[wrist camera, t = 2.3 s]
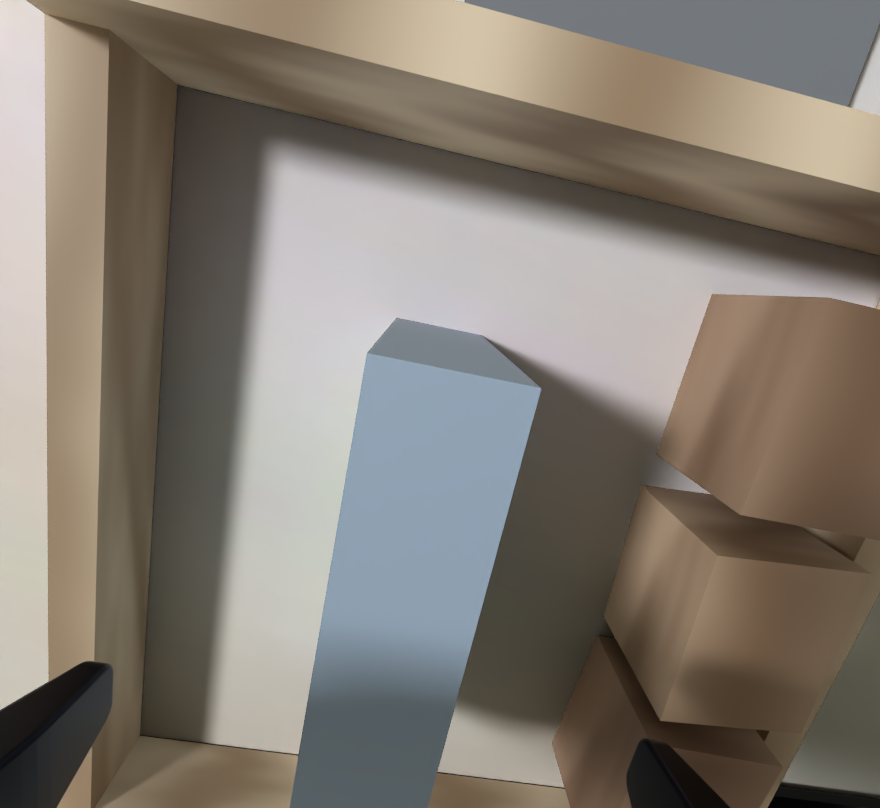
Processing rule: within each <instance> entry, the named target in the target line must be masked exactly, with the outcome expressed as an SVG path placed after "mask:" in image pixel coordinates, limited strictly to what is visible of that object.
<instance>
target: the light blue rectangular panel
mask: <svg viewBox="0 0 880 808" xmlns="http://www.w3.org/2000/svg"><path fill="white" fill-rule="evenodd" d="M540 392H541V387H540V386H538V385H537V384H536V383H535V382H534V381H533V380H532V379H530V378H529V377H528V376H527V375H526V374H525V373H524V372H523V371H521V370H520V369H519V368H518V367H517V366H516V365H515V364H513V363H512V362H511V361H510V360H509V359H508V358H507V357H506V356H504V355H503V354H502V353H501V352H500V351H499V350H498V349H496V348H495V347H494V346H493V345H492V344H491V343H490V342H489V341H487V340H486V339H485V338H484V337H483V336H482V335H477V334H472V333H467V332H462V331H458V330H453V329H448V328H443V327H439V326H434V325H429V324H424V323H420V322H415V321H410V320H405V319H400V318H396V319H395V320H394V322H393V323H392V324H391V325H390V326H389V328H388V329H387V330H386V331H385V332H384V334H383V335H382V336H381V337H380V338H379V339H378V341H377V342H376V343H375V344H374V345H373V347H372V348H371V349H370V350H369V351H368V353H367V356H366V362H365V368H364V374H363V380H362V386H361V392H360V398H359V403H358V409H357V415H356V421H355V427H354V433H353V439H352V444H351V450H350V456H349V462H348V468H347V474H346V480H345V485H344V491H343V497H342V503H341V509H340V515H339V521H338V527H337V532H336V538H335V544H334V550H333V556H332V562H331V568H330V573H329V579H328V585H327V591H326V597H325V603H324V609H323V614H322V620H321V626H320V632H319V638H318V644H317V650H316V656H315V661H314V667H313V673H312V679H311V685H310V691H309V697H308V702H307V708H306V714H305V720H304V726H303V732H302V738H301V743H300V749H299V755H298V761H297V767H296V773H295V779H294V785H293V790H292V796H291V802H290V808H427V807H428V804H429V800H430V796H431V793H432V789H433V785H434V782H435V778H436V774H437V771H438V767H439V763H440V760H441V756H442V752H443V749H444V745H445V741H446V738H447V734H448V730H449V727H450V723H451V719H452V716H453V712H454V708H455V704H456V701H457V697H458V693H459V690H460V686H461V682H462V679H463V675H464V671H465V668H466V664H467V660H468V657H469V653H470V649H471V646H472V642H473V638H474V635H475V631H476V627H477V624H478V620H479V616H480V613H481V609H482V605H483V602H484V598H485V594H486V591H487V587H488V583H489V580H490V576H491V572H492V568H493V565H494V561H495V557H496V554H497V550H498V546H499V543H500V539H501V535H502V532H503V528H504V524H505V521H506V517H507V513H508V510H509V506H510V502H511V499H512V495H513V491H514V488H515V484H516V480H517V477H518V473H519V469H520V466H521V462H522V458H523V455H524V451H525V447H526V444H527V440H528V436H529V433H530V429H531V425H532V421H533V418H534V414H535V410H536V407H537V403H538V399H539V396H540Z"/></svg>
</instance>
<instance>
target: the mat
mask: <svg viewBox="0 0 880 808" xmlns="http://www.w3.org/2000/svg"><path fill="white" fill-rule="evenodd" d="M465 3H468V4H472V5H475V6H479V7H483V8H486V9H490V10H494V11H497V12H501V13H505V14H508V15H512V16H516V17H519V18H523V19H527V20H530V21H534V22H538V23H541V24H545V25H549V26H552V27H556V28H560V29H563V30H567V31H571V32H574V33H578V34H582V35H585V36H589V37H593V38H596V39H600V40H604V41H608V42H611V43H615V44H619V45H622V46H626V47H630V48H633V49H637V50H641V51H644V52H648V53H652V54H655V55H659V56H663V57H666V58H670V59H674V60H677V61H681V62H685V63H688V64H692V65H696V66H699V67H703V68H707V69H710V70H714V71H718V72H721V73H725V74H729V75H732V76H736V77H740V78H743V79H747V80H751V81H754V82H758V83H762V84H765V85H769V86H773V87H776V88H780V89H784V90H787V91H791V92H795V93H798V94H802V95H806V96H809V97H813V98H817V99H820V100H824V101H828V102H831V103H835V104H839V105H842V106H846V107H848V105H849V102H850V100H851V97H852V94H853V92H854V89H855V87H856V84H857V81H858V79H859V76H860V73H861V71H862V68H863V66H864V63H865V60H866V58H867V55H868V53H869V50H870V47H871V45H872V42H873V40H874V37H875V34H876V32H877V29H878V27H879V24H880V0H465Z"/></svg>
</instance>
